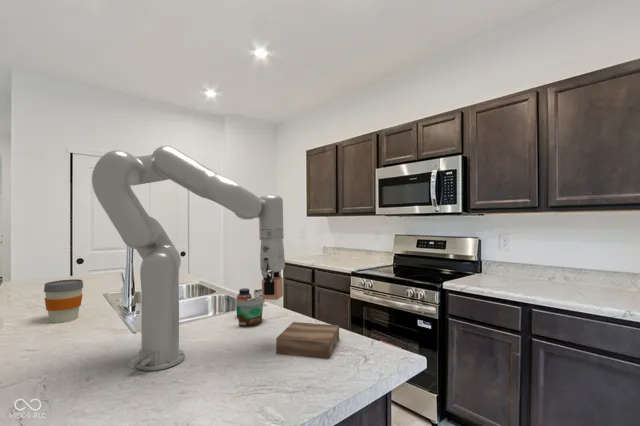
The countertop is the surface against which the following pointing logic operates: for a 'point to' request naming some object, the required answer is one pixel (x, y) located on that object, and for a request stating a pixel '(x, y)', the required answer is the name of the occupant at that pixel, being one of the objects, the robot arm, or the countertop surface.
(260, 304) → the food container
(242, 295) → the supplement bottle
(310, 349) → the walnut block
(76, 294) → the reusable coffee cup
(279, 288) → the terracotta block
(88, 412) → the countertop surface
